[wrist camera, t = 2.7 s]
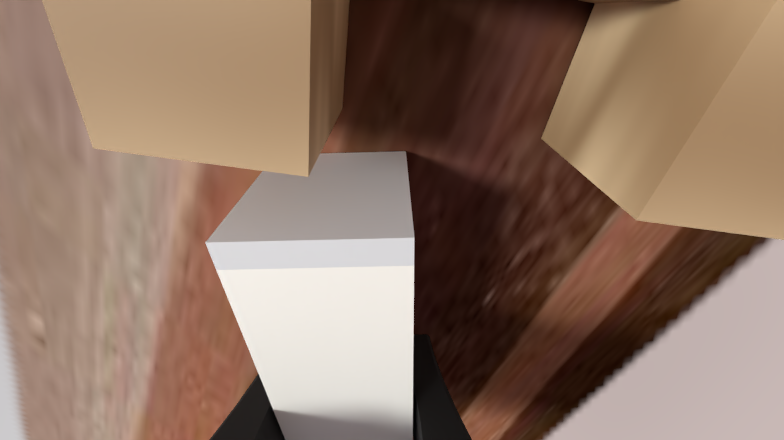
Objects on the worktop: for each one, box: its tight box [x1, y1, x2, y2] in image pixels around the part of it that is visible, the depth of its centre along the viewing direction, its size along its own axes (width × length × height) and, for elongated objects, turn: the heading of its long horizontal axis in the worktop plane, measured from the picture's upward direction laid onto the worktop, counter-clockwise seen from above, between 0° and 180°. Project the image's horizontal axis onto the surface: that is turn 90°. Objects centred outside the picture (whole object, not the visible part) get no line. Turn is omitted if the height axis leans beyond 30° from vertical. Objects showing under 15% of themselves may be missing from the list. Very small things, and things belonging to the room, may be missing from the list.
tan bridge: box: [42, 0, 784, 240], centre depth 6 cm, size 4×11×4 cm, turn 82°
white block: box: [205, 151, 414, 440], centre depth 10 cm, size 9×4×4 cm, turn 2°
